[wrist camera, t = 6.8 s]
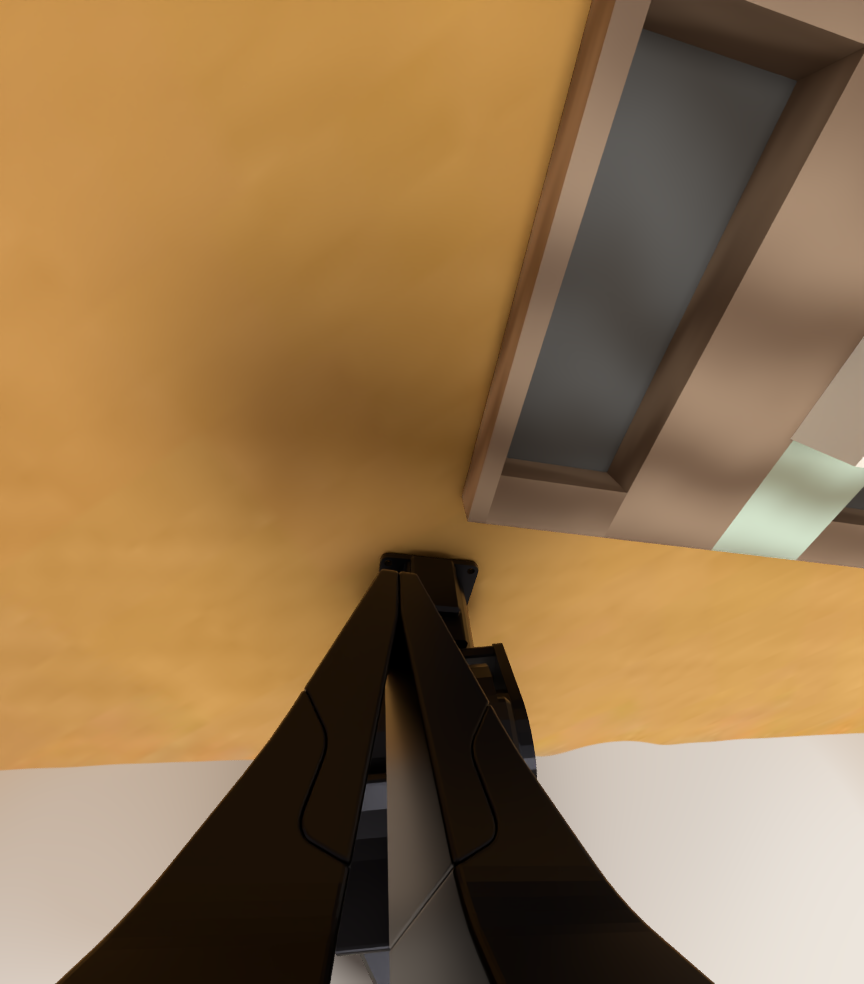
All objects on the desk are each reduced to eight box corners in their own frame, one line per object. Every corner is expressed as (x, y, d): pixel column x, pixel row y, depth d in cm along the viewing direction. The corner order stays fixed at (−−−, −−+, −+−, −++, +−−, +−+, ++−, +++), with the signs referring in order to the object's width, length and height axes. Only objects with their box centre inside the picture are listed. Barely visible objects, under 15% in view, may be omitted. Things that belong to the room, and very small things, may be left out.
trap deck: (869, 548, 26) (911, 573, 23) (461, 496, 21) (467, 521, 19) (1300, 132, 14) (1454, 108, 12) (630, -143, 10) (687, -252, 8)
